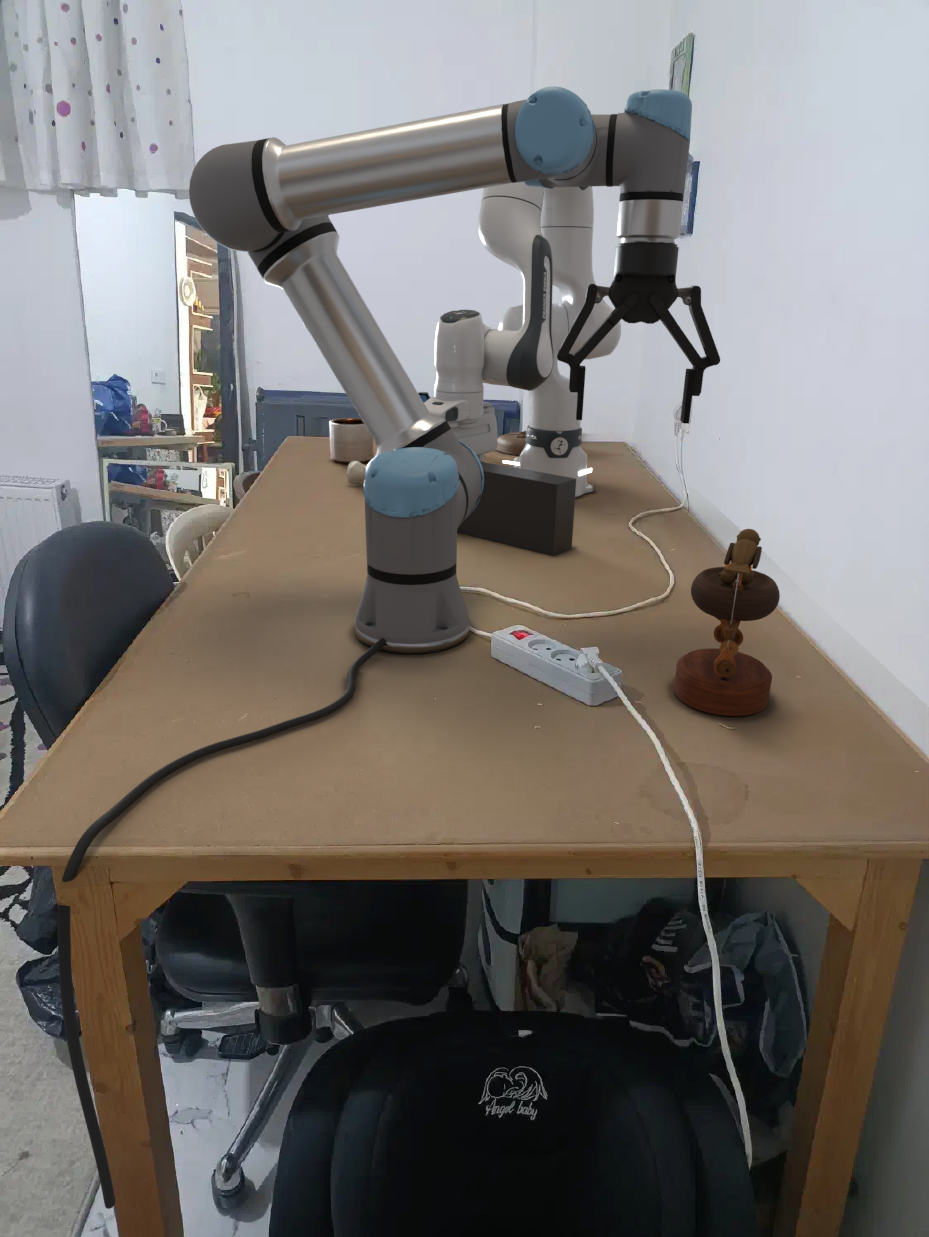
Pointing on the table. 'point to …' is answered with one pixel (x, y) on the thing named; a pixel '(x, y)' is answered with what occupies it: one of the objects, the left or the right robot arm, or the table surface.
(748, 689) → the music box
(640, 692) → the table surface
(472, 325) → the right robot arm
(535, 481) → the box
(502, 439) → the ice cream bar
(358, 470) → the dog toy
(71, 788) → the table surface
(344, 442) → the planter
